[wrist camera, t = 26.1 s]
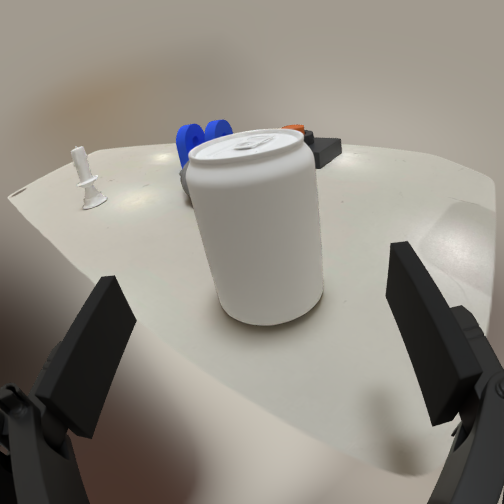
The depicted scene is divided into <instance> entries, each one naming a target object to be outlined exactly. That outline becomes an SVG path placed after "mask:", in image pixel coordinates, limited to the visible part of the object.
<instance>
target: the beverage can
mask: <svg viewBox="0 0 504 504" xmlns="http://www.w3.org/2000/svg"><path fill="white" fill-rule="evenodd" d="M303 140H304V135H303V133H302V132H300V131H297V130H292V129H261V130H252V131H246V132H240V133H235V134H231V135H226V136H223V137H219V138H216V139H213V140H210V141H207V142H205V143H202V144H200V145H198V146H196V147H195V148H193V149H192V150H191V151H190V152H189V154H188V157H189V160H190V163H189V165H188V168H187V171H186V182H187V186H188V190H189V194H190V197H191V201H192V205H193V209H194V212H195V216H196V220H197V223H198V227H199V231H200V234H201V238H202V242H203V245H204V249H205V252H206V256H207V259H208V263H209V266H210V270H211V273H212V277H213V280H214V283H215V287H216V290H217V294H218V297H219V300H220V303H221V306H222V307H223V309H224V310H225V311H226V313H228V314H229V315H230V316H231V317H233V318H234V319H236V320H238V321H241V322H244V323H247V324H252V325H276V324H281V323H285V322H288V321H291V320H294V319H296V318H298V317H300V316H302V315H304V314H305V313H307V312H308V311H309V310H310V309H312V308H313V307H314V306H315V304H316V303H317V302H318V301H319V299H320V297H321V295H322V292H323V263H322V245H321V230H320V216H319V203H318V191H317V180H316V170H315V160H314V155H313V152H312V151H311V149H310V148H309V147H308V145H307V144H306V143H305V142H304V141H303Z"/></svg>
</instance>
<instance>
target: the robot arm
mask: <svg viewBox="0 0 504 504" xmlns="http://www.w3.org/2000/svg"><path fill="white" fill-rule="evenodd" d="M386 299H387V301H388V303H389V306H390V308H391V311H392V313H393V315H394V318H395V320H396V323H397V325H398V328H399V330H400V333H401V336H402V338H403V341H404V343H405V346H406V349H407V351H408V354H409V357H410V360H411V362H412V365H413V368H414V371H415V374H416V377H417V379H418V382H419V385H420V388H421V391H422V394H423V398H424V401H425V404H426V407H427V410H428V413H429V417H430V420H431V424H432V427H433V426H436V425H440V424H443V423H446V422H449V421H452V420H453V419H454V418H455V416H456V415H457V413H458V412H459V415H460V418H461V422H460V423H459V425H458V426H457V427H456V428H455V430H454V431H453V433H452V435H451V436H453V437H454V435H455V434H456V435H455V438H454V441H453V444H452V446H451V449H450V452H449V455H448V457H447V460H446V462H445V465H444V467H443V470H442V472H441V474H440V477H439V479H438V482H437V484H436V486H435V488H434V490H433V492H432V495H431V497H430V499H429V501H428V503H427V504H497V503H498V501H499V498H500V495H501V492H502V488H503V486H504V369H503V368H502V366H501V364H500V363H499V360H498V359H497V356H496V355H495V353H494V351H493V349H492V347H491V345H490V344H489V342H488V340H487V338H486V336H484V333H483V331H482V329H481V328H480V327H479V324H478V323H477V321H476V319H475V318H474V316H473V314H472V313H471V312H469V311H468V310H467V309H466V308H465V307H463V306H462V305H461V306H456V307H452V308H450V307H449V306H448V304H447V302H446V300H445V299H444V297H443V295H442V294H441V292H440V290H439V289H438V287H437V285H436V284H435V282H434V281H433V279H432V277H431V276H430V274H429V273H428V271H427V270H426V268H425V266H424V265H423V263H422V262H421V260H420V259H419V257H418V256H417V254H416V253H415V251H414V250H413V248H412V247H411V245H410V244H409V242H408V241H405V242H397V243H391V245H390V258H389V269H388V279H387V288H386ZM136 321H137V320H136V318H135V316H134V314H133V312H132V310H131V308H130V306H129V304H128V302H127V300H126V298H125V296H124V294H123V292H122V290H121V288H120V286H119V283H118V281H117V279H116V277H115V275H114V276H105V277H101V278H100V280H99V281H98V283H97V284H96V286H95V287H94V289H93V291H92V292H91V294H90V296H89V297H88V299H87V300H86V302H85V304H84V305H83V307H82V308H81V310H80V312H79V314H78V315H77V317H76V318H75V320H74V322H73V323H72V325H71V327H70V329H69V330H68V332H67V334H66V336H65V337H64V339H63V341H62V342H61V341H60V342H59V343H58V344H57V345H56V346H55V347H54V348H53V349H52V351H51V353H50V355H49V356H48V358H47V362H45V364H44V365H43V369H41V371H40V373H39V375H38V377H37V379H36V381H35V383H34V385H33V387H32V389H31V391H30V393H29V395H28V396H26V395H25V394H24V393H23V392H22V391H21V390H20V388H19V387H17V385H16V384H15V383H8V384H5V385H4V386H2V387H1V388H0V408H1V409H2V410H0V444H1V445H2V446H3V447H4V448H6V449H7V450H8V453H7V455H5V454H4V453H2V452H1V451H0V504H90V503H89V500H88V497H87V494H86V491H85V488H84V485H83V482H82V479H81V476H80V472H79V469H78V465H77V462H76V458H75V454H74V451H73V447H72V443H71V439H70V437H69V436H68V435H67V434H66V433H67V430H68V428H69V429H70V430H71V431H72V432H73V433H75V434H76V435H77V436H81V437H85V438H90V439H92V437H93V434H94V431H95V428H96V425H97V422H98V419H99V416H100V413H101V410H102V408H103V405H104V402H105V399H106V397H107V394H108V391H109V389H110V386H111V383H112V380H113V378H114V375H115V373H116V370H117V368H118V365H119V363H120V360H121V357H122V355H123V352H124V350H125V348H126V345H127V342H128V340H129V338H130V335H131V333H132V330H133V328H134V325H135V323H136ZM502 504H504V493H503V500H502Z"/></svg>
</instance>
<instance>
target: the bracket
mask: <svg viewBox="0 0 504 504" xmlns="http://www.w3.org/2000/svg"><path fill="white" fill-rule="evenodd" d="M231 134H233V132H232V128H231V127H230V124H229V123H228V122H227V121H226V120H216V121H211V122H209V123H208V125H207V127H206V129H205V134H204V132H203V130H202V128H201V127H200V126H199V125H197V124H190V125H184V126H182V127H181V128H180V129H179V131H178V133H177V138H176V145H177V150H178V154H179V158H180V162H181V166H182V169H183V167H184V165H185V164H186V163H187V162H188V161H189V157H188V154H189V152H190V151H191V150H192V149H193V148H195V147H196V146H198V145H200V144H202V143H205V142H207V141H210V140H213V139H216V138H219V137H223V136H226V135H231Z"/></svg>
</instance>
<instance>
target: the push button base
mask: <svg viewBox="0 0 504 504" xmlns="http://www.w3.org/2000/svg"><path fill="white" fill-rule="evenodd" d="M304 132H305V134H304V140H303V141H304V142H305V143H306V144H307V145H308V147H309V148H310V149H311V151H312V152H313V155H314V160H315V168H322V167H323V166H325V165H326V164H327V163H328V162H330V161H331V160H332V159H334V158H335V157H336V156H338V155H339V154H340V153H342V147H341V139H338V138H314V136H313V132H312V131H308V130H304Z"/></svg>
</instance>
